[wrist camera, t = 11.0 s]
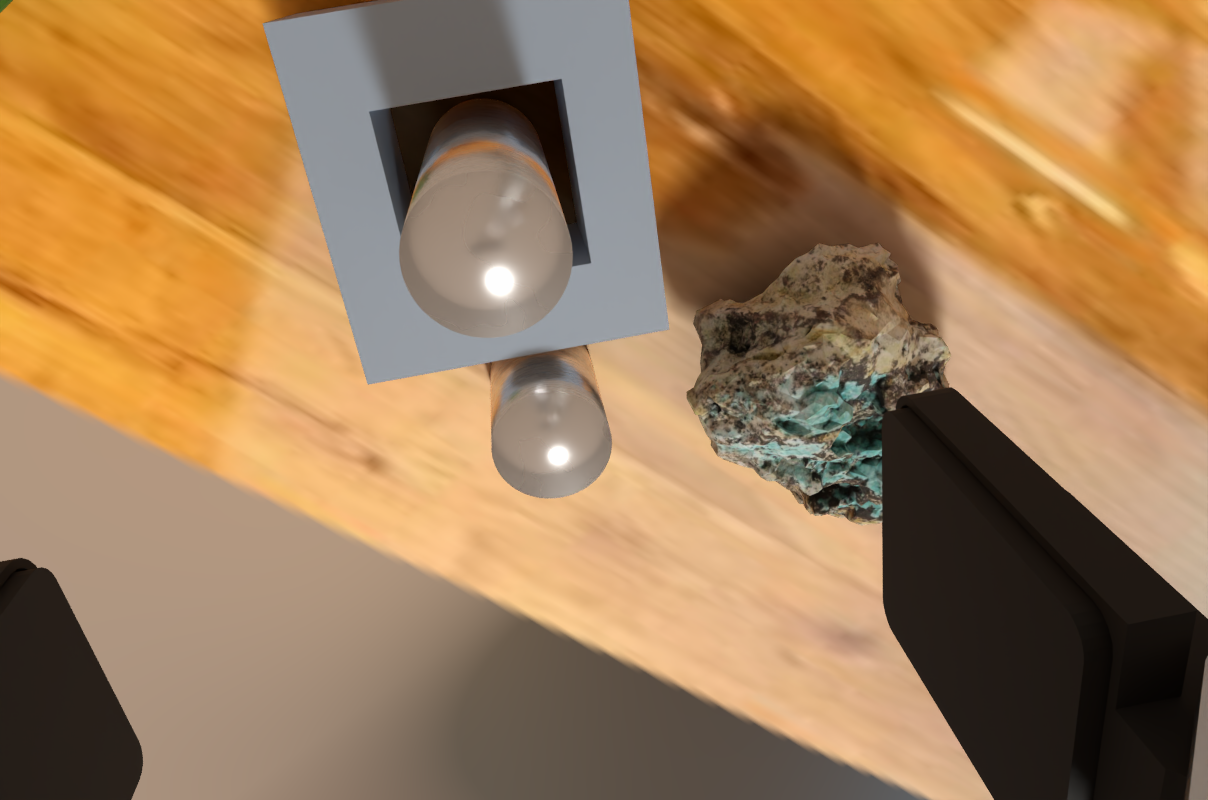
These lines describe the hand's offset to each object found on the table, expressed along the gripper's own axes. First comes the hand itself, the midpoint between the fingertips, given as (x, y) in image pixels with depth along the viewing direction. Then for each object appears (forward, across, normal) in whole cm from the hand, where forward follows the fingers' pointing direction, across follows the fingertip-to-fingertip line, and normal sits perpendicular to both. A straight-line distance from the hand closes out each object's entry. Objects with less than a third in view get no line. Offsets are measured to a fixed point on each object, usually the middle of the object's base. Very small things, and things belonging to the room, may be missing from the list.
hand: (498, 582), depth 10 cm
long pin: (+24, 0, 0) cm, 24 cm away
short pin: (+24, 0, +8) cm, 26 cm away
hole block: (+24, 0, 0) cm, 24 cm away
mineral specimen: (+25, -12, +11) cm, 29 cm away
